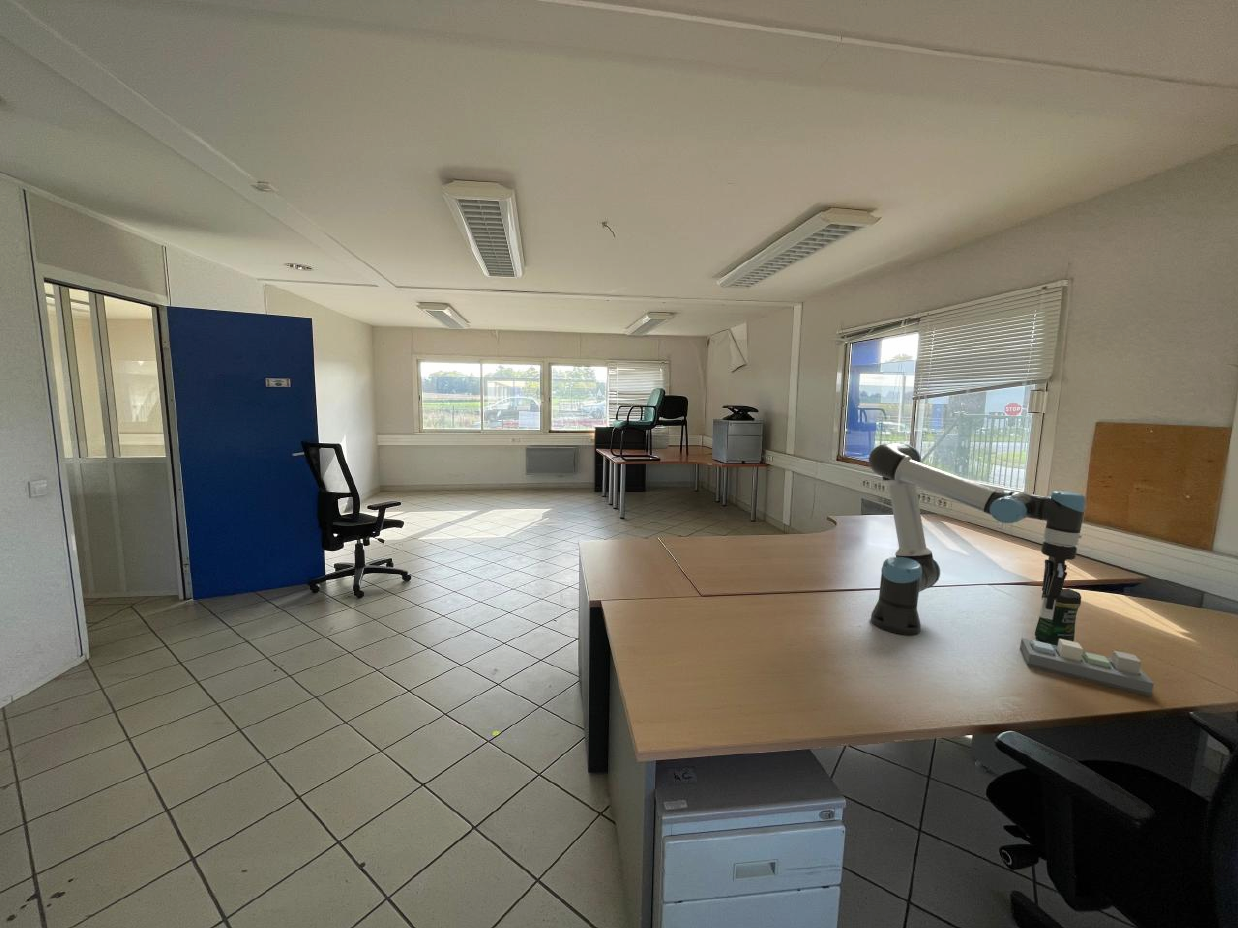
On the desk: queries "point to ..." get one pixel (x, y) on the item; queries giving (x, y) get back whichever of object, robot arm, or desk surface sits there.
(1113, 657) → the key grey
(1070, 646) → the key cream
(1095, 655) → the key sage
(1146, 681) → the keypad
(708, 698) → the desk surface
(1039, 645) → the key blue
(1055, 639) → the coffee jar
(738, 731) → the desk surface
